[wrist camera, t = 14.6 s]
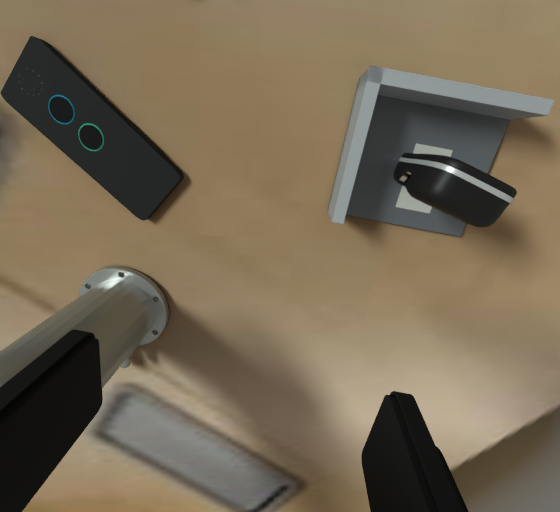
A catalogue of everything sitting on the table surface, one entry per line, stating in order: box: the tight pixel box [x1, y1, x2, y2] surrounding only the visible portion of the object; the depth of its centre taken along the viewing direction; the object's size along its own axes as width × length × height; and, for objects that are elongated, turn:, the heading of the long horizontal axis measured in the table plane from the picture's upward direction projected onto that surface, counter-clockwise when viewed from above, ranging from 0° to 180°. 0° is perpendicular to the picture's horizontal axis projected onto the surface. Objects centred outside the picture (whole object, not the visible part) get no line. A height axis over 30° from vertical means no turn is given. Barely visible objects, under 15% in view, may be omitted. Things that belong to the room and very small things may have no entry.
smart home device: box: [1, 36, 183, 220], centre depth 34 cm, size 8×2×20 cm
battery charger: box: [394, 153, 517, 227], centre depth 28 cm, size 7×4×11 cm, turn 65°
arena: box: [328, 66, 555, 237], centre depth 30 cm, size 14×16×6 cm
